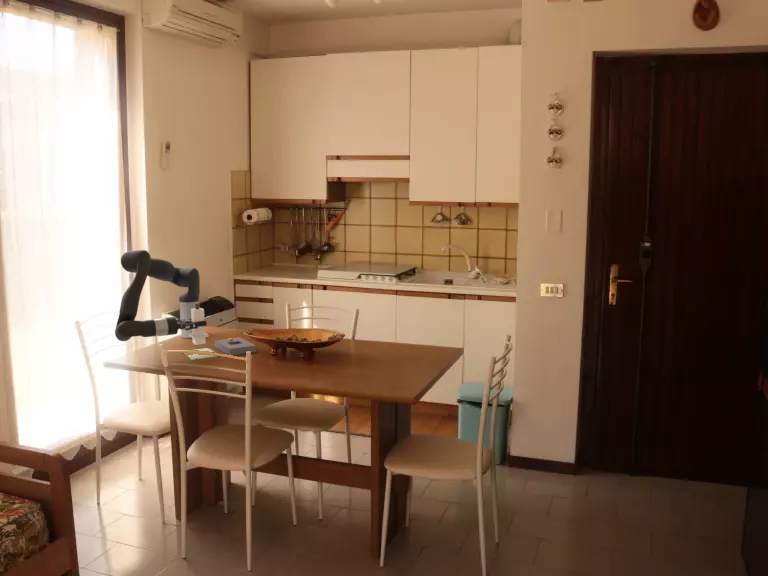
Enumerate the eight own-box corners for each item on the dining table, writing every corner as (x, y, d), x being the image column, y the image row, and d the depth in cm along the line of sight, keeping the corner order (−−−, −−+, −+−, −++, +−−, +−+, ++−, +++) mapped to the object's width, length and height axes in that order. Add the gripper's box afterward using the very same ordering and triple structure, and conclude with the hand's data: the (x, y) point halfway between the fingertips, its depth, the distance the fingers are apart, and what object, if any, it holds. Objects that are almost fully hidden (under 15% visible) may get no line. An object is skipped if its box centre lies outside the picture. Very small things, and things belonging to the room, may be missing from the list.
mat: (181, 352, 342) (181, 351, 342) (207, 349, 348) (207, 347, 348) (192, 360, 328) (191, 358, 328) (219, 356, 334) (219, 354, 334)
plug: (189, 342, 338) (187, 303, 336) (204, 341, 342) (202, 301, 339) (193, 345, 333) (191, 305, 330) (208, 343, 336) (207, 303, 334)
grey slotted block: (215, 347, 352) (214, 338, 351) (240, 343, 358) (240, 335, 357) (229, 355, 335) (229, 347, 334) (256, 352, 341) (255, 343, 340)
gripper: (168, 320, 322) (209, 316, 331) (160, 315, 334) (199, 311, 343) (169, 338, 323) (210, 333, 332) (161, 332, 336) (199, 328, 344)
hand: (204, 322), depth 337 cm, fingers closed on plug, 4 cm apart
